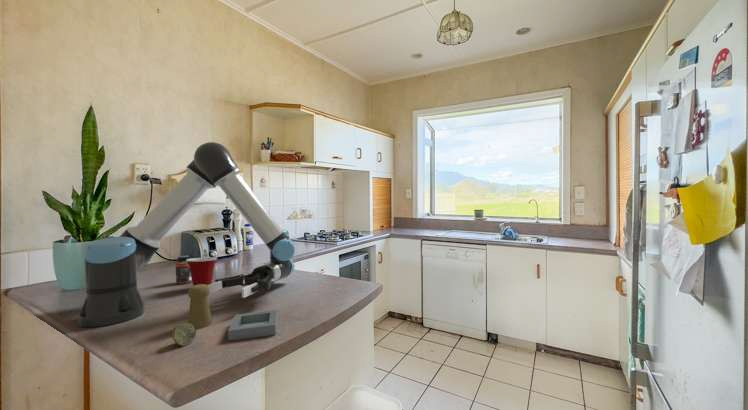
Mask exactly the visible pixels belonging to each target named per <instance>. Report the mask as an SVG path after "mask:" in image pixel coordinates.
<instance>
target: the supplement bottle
mask: <svg viewBox="0 0 748 410" xmlns="http://www.w3.org/2000/svg"><path fill="white" fill-rule="evenodd" d="M187 259H190V256H189V255H180V256H178V257H177V261H176V262H175V283H176V284H177V285H185V284H189V283H193V282H192V278H191V274H190V269H189V265H188V262H187V261H186V260H187Z"/></svg>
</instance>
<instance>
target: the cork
mask: <svg viewBox="0 0 748 410" xmlns="http://www.w3.org/2000/svg"><path fill="white" fill-rule="evenodd" d="M209 292H210V289H209V286H208V285H206V284H199V285H194V286H193V285H192V286H190V287H189V289H188V291H187V295H188V297H189V299H190V300H189V301H190V302H189V311H188V319H187V322H188V323H190V324H192V325H193V326H194V327H195V330H200V329H205V328H207V327H209V326H211V325H212V324H213V319H212V314H211V308H210V302H209V297H208V296H209V295H210V294H209Z"/></svg>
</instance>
